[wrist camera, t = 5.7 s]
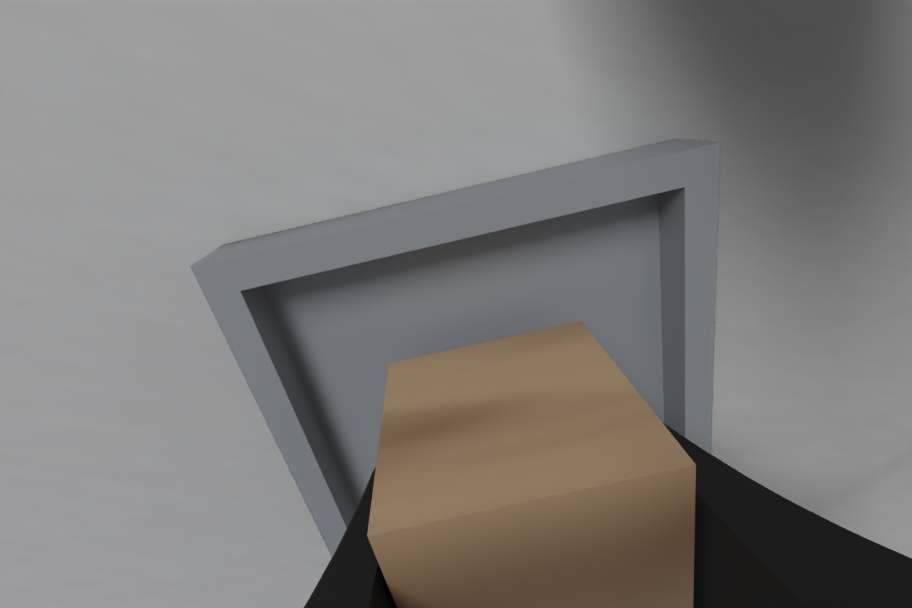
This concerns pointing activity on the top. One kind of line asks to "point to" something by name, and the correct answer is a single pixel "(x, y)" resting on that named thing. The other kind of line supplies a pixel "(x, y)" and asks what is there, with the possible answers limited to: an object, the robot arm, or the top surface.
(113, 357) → the top surface
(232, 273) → the slate tray
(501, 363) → the walnut cube
